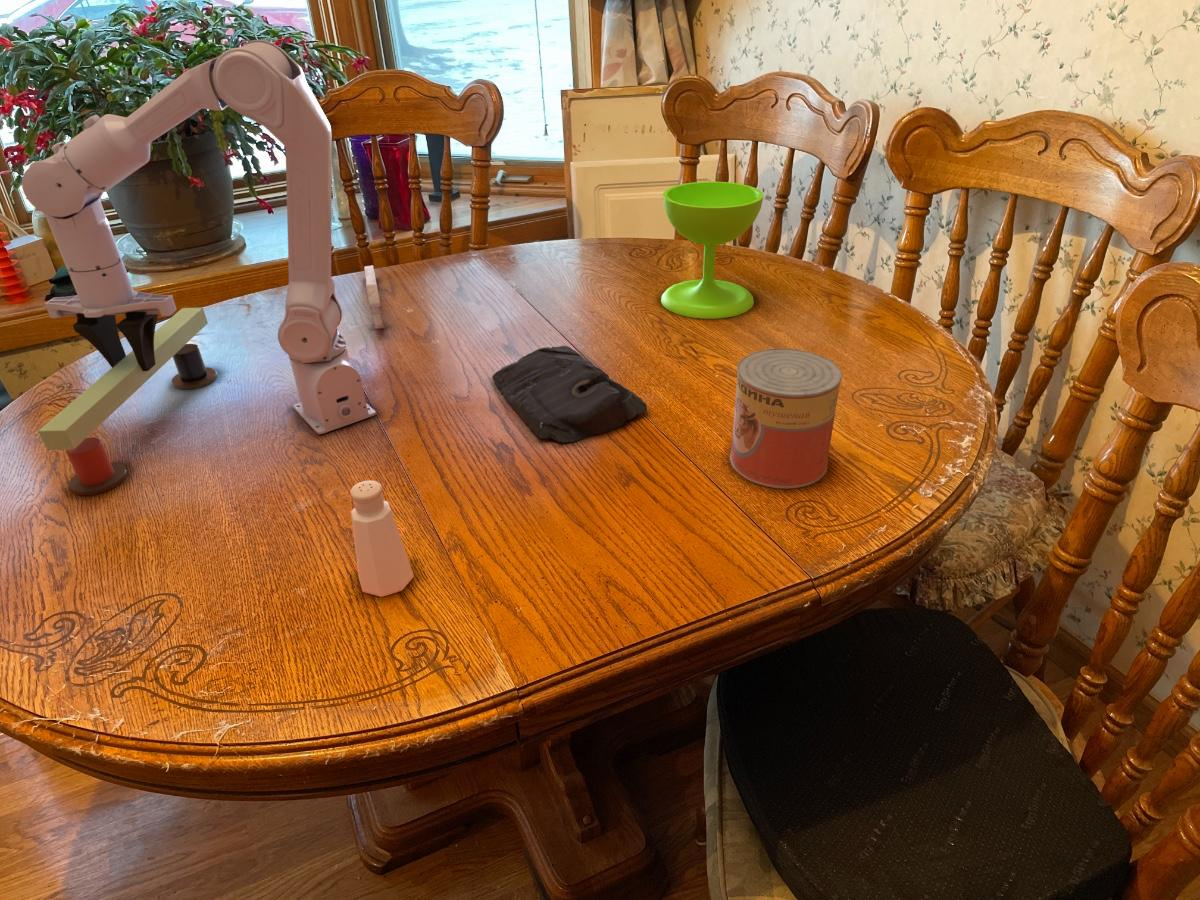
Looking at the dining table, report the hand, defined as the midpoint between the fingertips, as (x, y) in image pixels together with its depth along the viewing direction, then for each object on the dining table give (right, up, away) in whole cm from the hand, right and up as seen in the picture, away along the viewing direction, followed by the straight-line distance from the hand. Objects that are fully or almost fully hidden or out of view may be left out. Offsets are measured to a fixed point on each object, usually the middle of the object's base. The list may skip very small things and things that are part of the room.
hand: (135, 367), depth 98 cm
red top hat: (-1, -14, -6) cm, 15 cm away
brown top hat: (0, 0, +15) cm, 15 cm away
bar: (0, -1, +1) cm, 1 cm away
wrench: (+20, +14, +37) cm, 44 cm away
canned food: (+80, -12, -6) cm, 81 cm away
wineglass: (+77, +15, +36) cm, 87 cm away
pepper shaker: (+38, -23, -22) cm, 49 cm away
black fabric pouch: (+54, -3, +8) cm, 55 cm away
